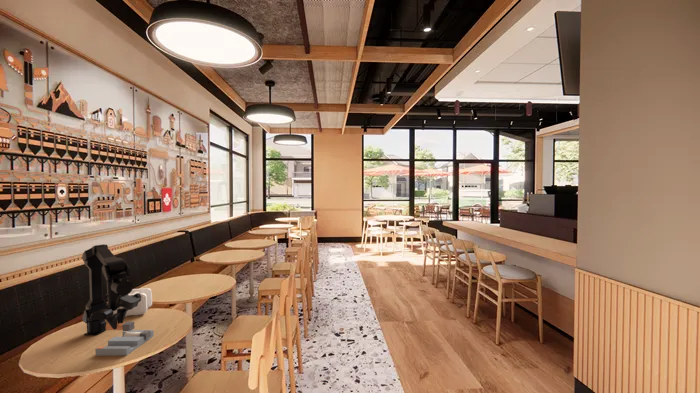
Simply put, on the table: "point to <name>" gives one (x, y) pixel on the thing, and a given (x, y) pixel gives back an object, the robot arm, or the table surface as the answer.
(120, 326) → the orange-handled mallet
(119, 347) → the ribbed grooved tray
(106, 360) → the table surface
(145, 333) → the white-handled mallet
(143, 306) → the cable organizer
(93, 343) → the table surface
